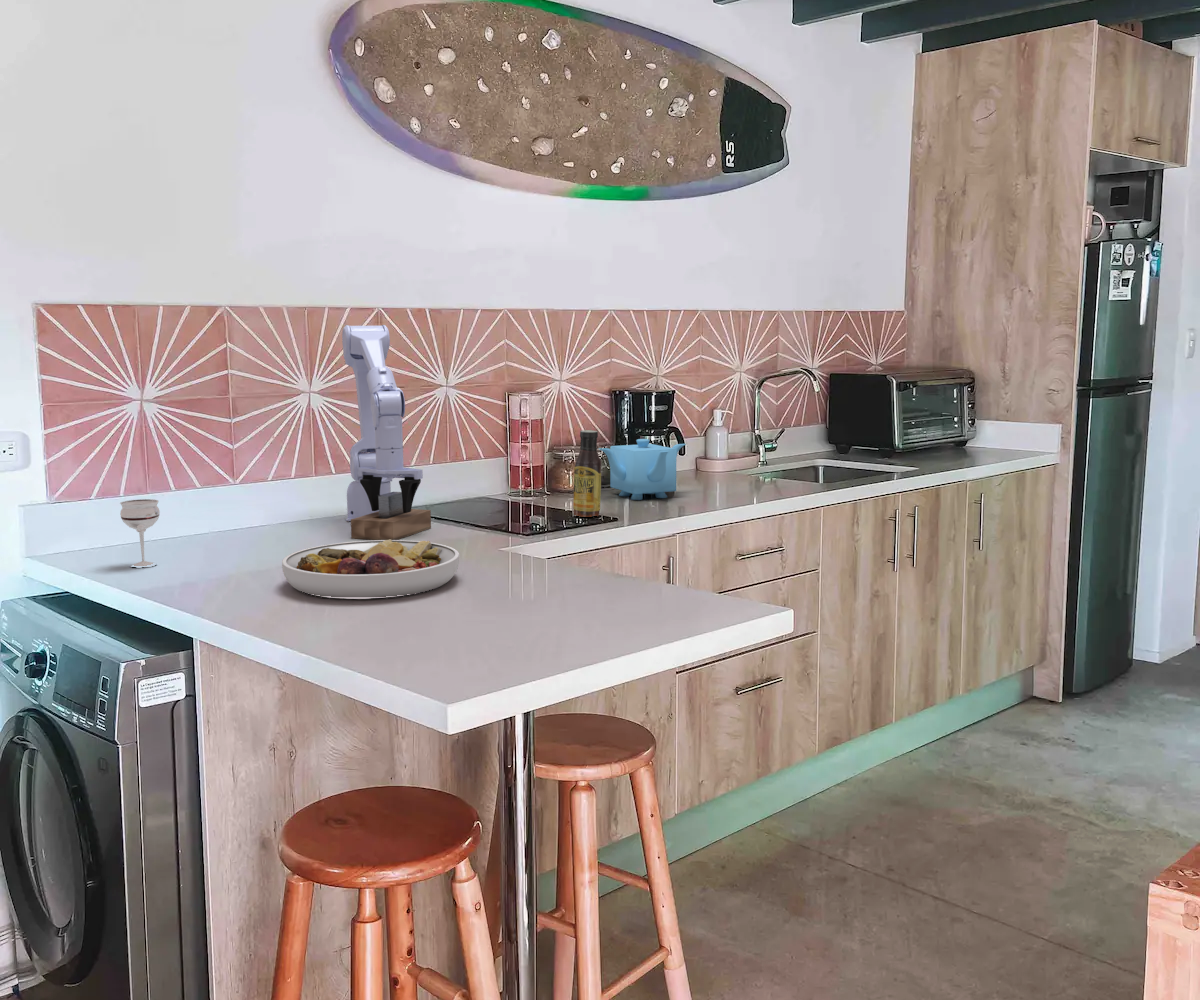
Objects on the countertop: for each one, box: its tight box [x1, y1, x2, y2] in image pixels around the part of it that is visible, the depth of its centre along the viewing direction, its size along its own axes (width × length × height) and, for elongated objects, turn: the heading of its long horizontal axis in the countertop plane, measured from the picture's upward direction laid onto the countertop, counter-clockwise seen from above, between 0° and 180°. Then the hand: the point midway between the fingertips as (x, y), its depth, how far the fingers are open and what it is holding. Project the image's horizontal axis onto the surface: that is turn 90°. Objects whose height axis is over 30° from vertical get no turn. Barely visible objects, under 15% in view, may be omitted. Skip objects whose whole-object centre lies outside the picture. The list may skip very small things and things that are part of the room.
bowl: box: [281, 539, 460, 597], centre depth 200 cm, size 30×30×8 cm
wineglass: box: [119, 498, 161, 566], centre depth 214 cm, size 7×7×12 cm
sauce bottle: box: [572, 429, 602, 518], centre depth 264 cm, size 7×6×20 cm
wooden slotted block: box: [350, 508, 432, 541], centre depth 246 cm, size 10×16×4 cm, turn 160°
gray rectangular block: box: [378, 491, 404, 519], centre depth 245 cm, size 2×6×8 cm, turn 160°
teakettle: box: [598, 438, 687, 501], centre depth 295 cm, size 19×19×15 cm
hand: (391, 511), depth 246 cm, fingers open, 7 cm apart
